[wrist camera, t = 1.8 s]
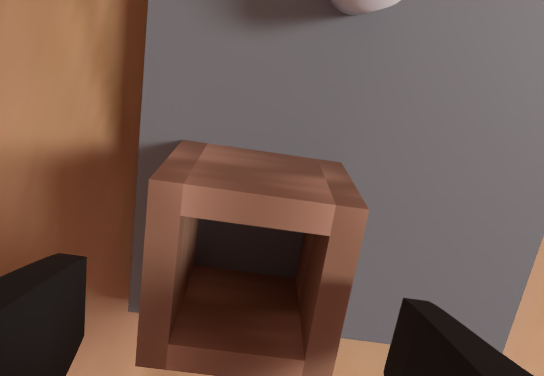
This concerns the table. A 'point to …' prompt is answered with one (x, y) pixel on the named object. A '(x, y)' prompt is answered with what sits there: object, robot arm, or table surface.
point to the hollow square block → (238, 284)
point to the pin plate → (367, 139)
